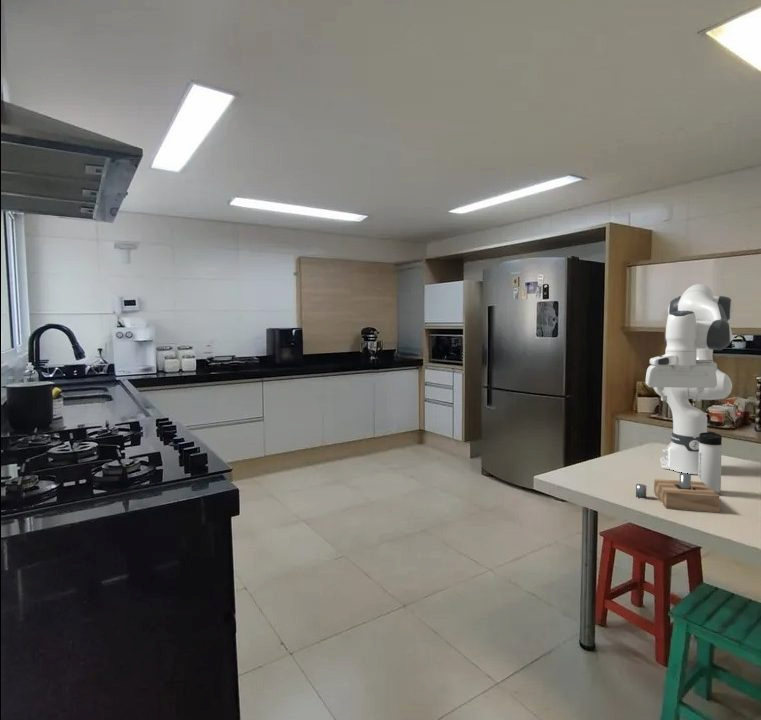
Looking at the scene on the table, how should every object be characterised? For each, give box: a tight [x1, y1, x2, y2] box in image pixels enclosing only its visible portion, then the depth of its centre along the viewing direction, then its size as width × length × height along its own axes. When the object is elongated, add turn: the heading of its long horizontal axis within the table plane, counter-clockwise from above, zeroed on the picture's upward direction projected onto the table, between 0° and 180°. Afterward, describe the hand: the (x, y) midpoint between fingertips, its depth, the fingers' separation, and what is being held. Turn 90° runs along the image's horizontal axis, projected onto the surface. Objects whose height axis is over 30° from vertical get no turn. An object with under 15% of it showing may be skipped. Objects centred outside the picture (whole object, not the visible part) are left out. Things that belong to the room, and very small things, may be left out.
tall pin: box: [679, 472, 692, 490], centre depth 149 cm, size 3×3×9 cm
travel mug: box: [697, 431, 723, 496], centre depth 158 cm, size 6×7×20 cm
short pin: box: [635, 483, 647, 499], centre depth 155 cm, size 3×3×4 cm
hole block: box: [653, 478, 720, 513], centre depth 150 cm, size 14×14×5 cm
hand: (680, 401), depth 157 cm, fingers open, 8 cm apart
